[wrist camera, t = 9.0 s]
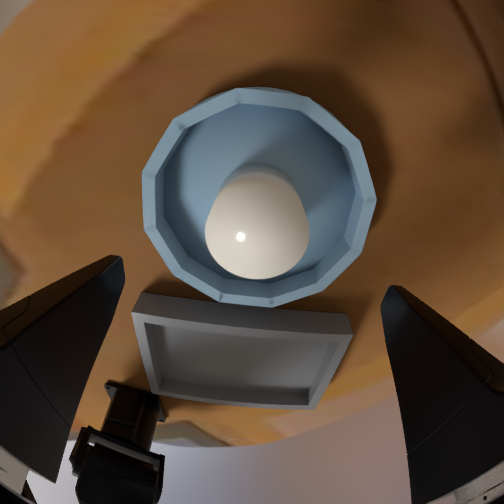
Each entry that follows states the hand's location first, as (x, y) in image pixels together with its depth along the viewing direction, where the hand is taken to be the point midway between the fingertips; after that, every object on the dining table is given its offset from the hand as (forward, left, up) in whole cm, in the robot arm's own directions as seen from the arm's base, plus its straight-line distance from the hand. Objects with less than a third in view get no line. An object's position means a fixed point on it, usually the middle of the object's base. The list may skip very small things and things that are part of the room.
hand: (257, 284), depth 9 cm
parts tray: (-13, 0, -8) cm, 15 cm away
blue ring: (0, 0, -8) cm, 8 cm away
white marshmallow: (0, 0, -8) cm, 8 cm away
